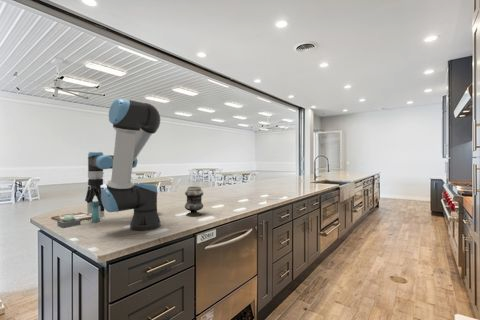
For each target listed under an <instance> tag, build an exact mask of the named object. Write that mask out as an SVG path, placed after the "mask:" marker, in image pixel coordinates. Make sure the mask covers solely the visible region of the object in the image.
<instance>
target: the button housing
mask: <svg viewBox="0 0 480 320" xmlns="http://www.w3.org/2000/svg"><path fill="white" fill-rule="evenodd" d="M56 225H57V227H60V228H63V229H65V228H70V227H74V226H76V227H77V226H79V225H81V221H80V220H79V219H76V218H74V221H70V222H64V220H60V221H57V222H56Z"/></svg>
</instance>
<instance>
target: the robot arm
mask: <svg viewBox="0 0 480 320" xmlns="http://www.w3.org/2000/svg"><path fill="white" fill-rule="evenodd" d="M108 121H109V123H111V124H112V128H113V129H114V130H115V138H114V139H115V140H114V148H113V149H114V150H113V155H111V154H109V155H107V154H104V153H103V152H102V151H89V152H88V154H87V169H88V170H87V178H88V180H87V191H86V196H85V202H86V203H87V205H86V206H87V208H86V209H87V210H86V211H87V213H86V214H89V215H92V207H91V206H90V202H94V201H93V200H94V197H96V199H97V201H98V202H99V205H98V206H99V218H104V217H105V211H106V212H107V213H118V212H122V211H123V212H124V211H129V210H133V214H132V217H131V221H130V223H129V228H130V230H133V231H150V230H153V229H154V230H155V229H158V228H159V227H160V226H161V220H160V216H159V213H158V193H157V192H158V186H157V185H156V184H152V183H139V182H134V183H132V181H131V180H132V171H133V168H136V167H137V165H138V156H139V154H140V153H141V151H142V150H143V149H144V147H145V145H146V144H147V142H148V141H149V140H150V139H151V138H150V137H151V136H152V135H153V134H155V133H157V131H158V130H159V128H160V126H161V125H160V124H161V115H160V113H159V111H158V109H157V108H156V107H155V106H154V105H152V104H151V103H147V102H142V101H136V100H133V99H132V100H131V99H128V98H126V99H125V98H116V99H114V101H113V102H112V103H111V105H110V107H109V110H108ZM108 169H109V170H111V179H110V181H108V182H107V184H106V187H101V186H103V185H104V179H103V178H104V170H108Z"/></svg>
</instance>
